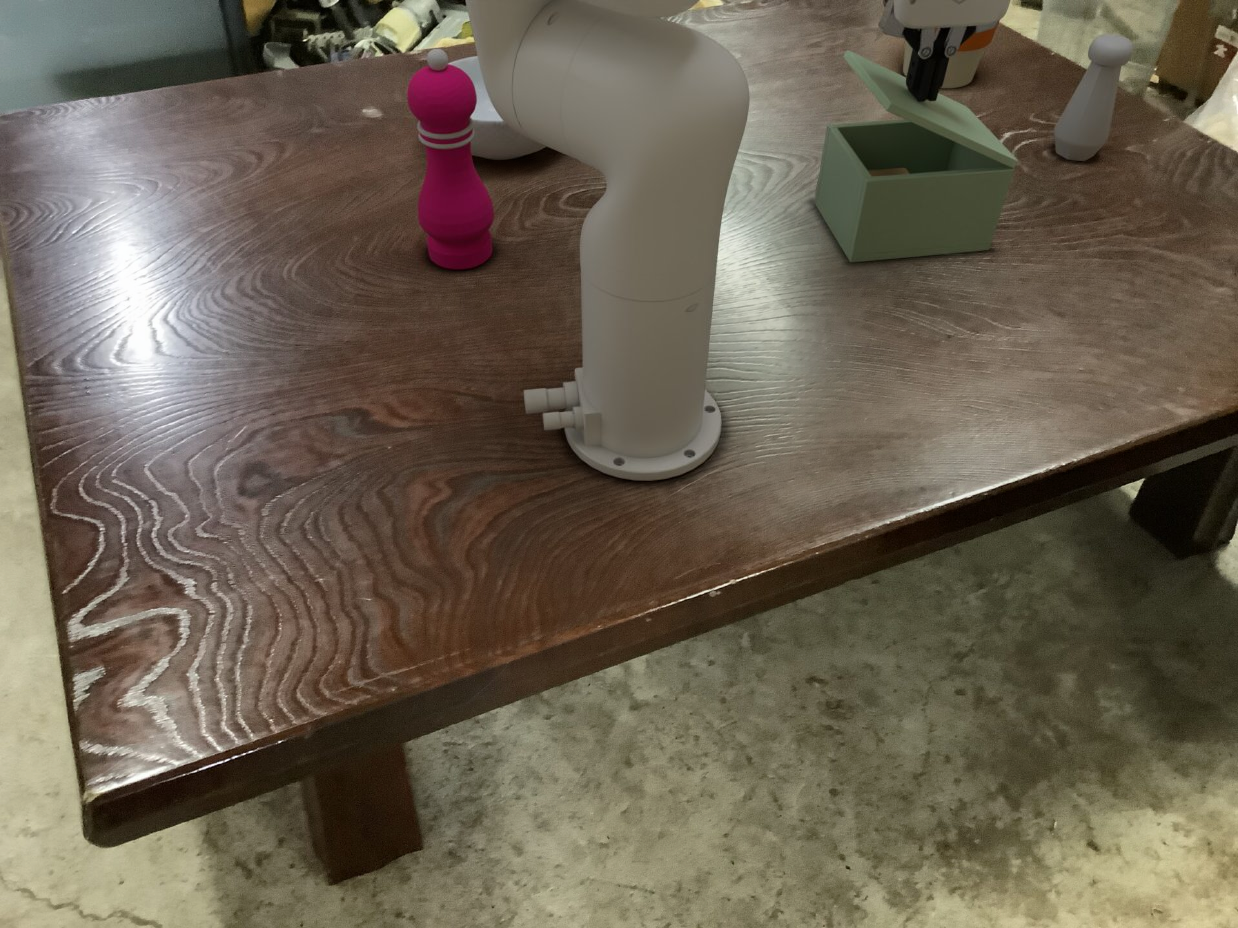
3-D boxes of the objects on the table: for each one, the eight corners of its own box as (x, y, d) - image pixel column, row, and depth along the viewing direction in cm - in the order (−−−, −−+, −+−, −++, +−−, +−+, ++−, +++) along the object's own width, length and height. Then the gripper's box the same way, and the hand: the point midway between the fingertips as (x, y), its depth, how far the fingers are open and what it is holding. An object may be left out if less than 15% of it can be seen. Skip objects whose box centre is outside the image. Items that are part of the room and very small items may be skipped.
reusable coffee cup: (950, 103, 122) (983, -24, 111) (869, 71, 128) (893, -52, 118) (1005, 75, 128) (1042, -48, 117) (925, 46, 135) (953, -73, 124)
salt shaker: (1103, 167, 111) (1148, 52, 101) (1050, 162, 111) (1090, 47, 102) (1096, 143, 115) (1138, 30, 106) (1045, 138, 116) (1083, 26, 106)
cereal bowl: (408, 172, 108) (398, 110, 103) (452, 106, 120) (446, 48, 115) (557, 187, 106) (555, 125, 101) (588, 119, 118) (587, 60, 113)
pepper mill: (444, 281, 93) (415, 74, 79) (411, 246, 98) (379, 44, 84) (510, 258, 96) (494, 55, 82) (476, 225, 101) (455, 26, 86)
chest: (850, 263, 96) (867, 181, 90) (813, 203, 104) (827, 124, 98) (989, 250, 98) (1015, 169, 92) (942, 192, 106) (963, 114, 100)
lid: (886, 111, 86) (891, 103, 85) (842, 57, 94) (847, 49, 93) (1013, 169, 92) (1019, 161, 92) (962, 114, 100) (967, 107, 100)
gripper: (902, -111, 75) (858, 118, 88) (1083, -118, 77) (1014, 108, 90) (868, -137, 80) (831, 83, 93) (1038, -143, 82) (979, 74, 95)
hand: (921, 95), depth 91 cm, fingers closed
